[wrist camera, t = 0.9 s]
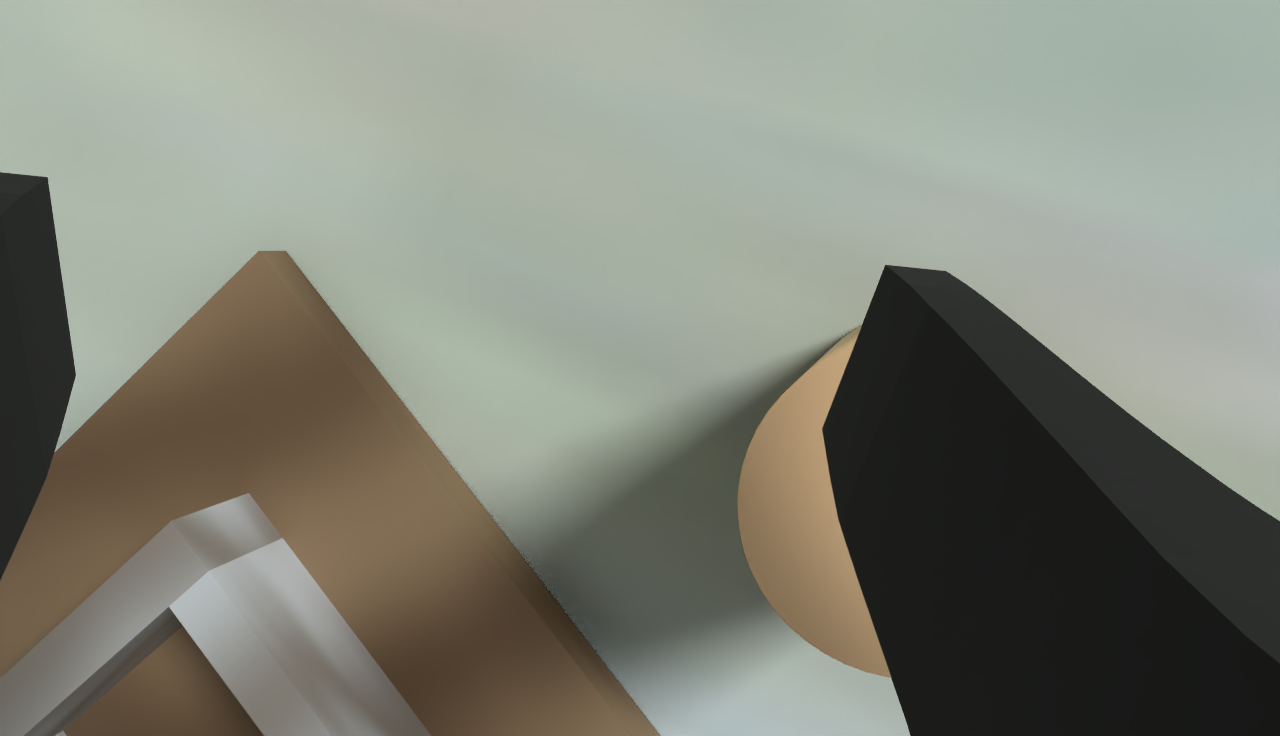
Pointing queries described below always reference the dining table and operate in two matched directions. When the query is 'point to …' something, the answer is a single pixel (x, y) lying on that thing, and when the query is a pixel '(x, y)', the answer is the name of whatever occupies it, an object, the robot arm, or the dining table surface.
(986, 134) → the dining table surface
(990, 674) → the robot arm
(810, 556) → the tan rounded cone
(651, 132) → the dining table surface
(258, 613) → the sleeve holder
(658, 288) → the dining table surface
